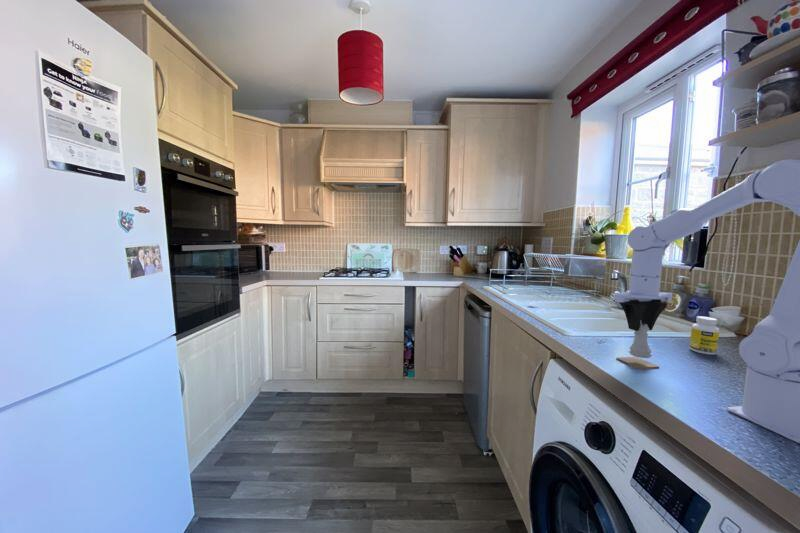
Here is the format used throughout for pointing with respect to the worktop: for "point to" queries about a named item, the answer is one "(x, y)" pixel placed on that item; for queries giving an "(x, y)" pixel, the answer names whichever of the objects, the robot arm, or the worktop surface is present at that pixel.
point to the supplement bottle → (704, 335)
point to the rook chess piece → (641, 343)
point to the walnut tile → (637, 363)
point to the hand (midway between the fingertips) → (640, 329)
